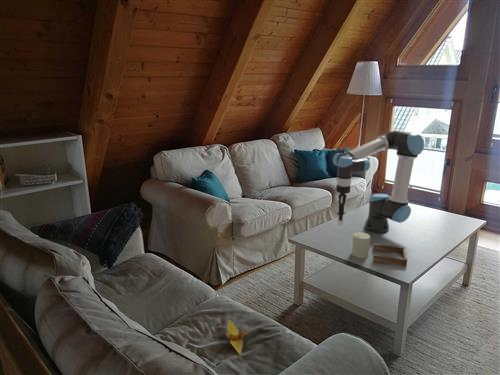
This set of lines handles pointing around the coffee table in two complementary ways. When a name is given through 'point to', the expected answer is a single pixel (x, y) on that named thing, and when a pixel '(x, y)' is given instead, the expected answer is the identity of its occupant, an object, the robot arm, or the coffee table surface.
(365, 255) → the can
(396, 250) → the bay
